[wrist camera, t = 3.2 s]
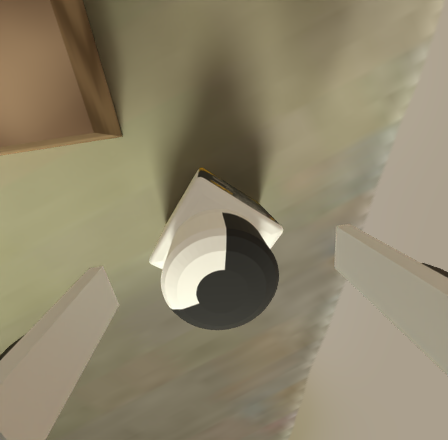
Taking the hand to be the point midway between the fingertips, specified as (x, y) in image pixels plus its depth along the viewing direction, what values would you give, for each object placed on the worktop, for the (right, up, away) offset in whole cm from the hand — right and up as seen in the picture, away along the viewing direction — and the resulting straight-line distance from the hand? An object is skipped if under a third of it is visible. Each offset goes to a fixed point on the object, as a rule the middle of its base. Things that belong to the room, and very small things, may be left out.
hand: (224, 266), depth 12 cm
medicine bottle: (-1, +3, +10) cm, 10 cm away
